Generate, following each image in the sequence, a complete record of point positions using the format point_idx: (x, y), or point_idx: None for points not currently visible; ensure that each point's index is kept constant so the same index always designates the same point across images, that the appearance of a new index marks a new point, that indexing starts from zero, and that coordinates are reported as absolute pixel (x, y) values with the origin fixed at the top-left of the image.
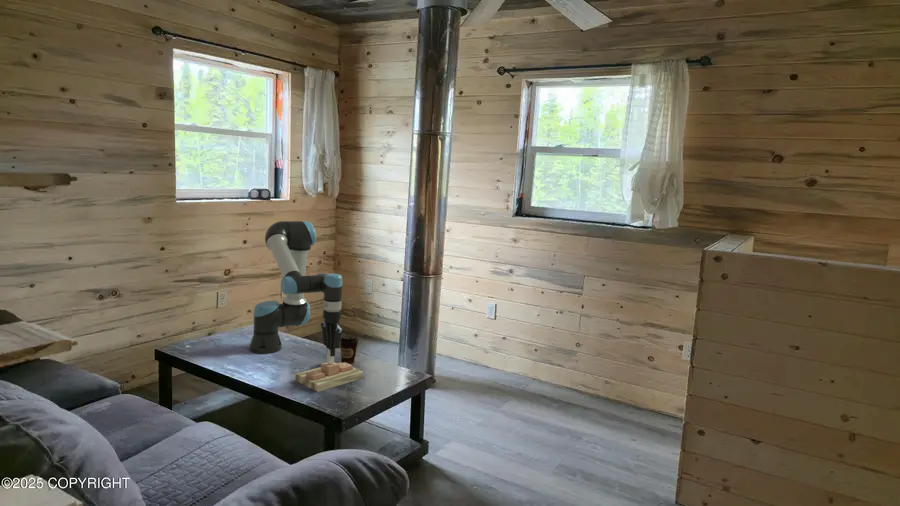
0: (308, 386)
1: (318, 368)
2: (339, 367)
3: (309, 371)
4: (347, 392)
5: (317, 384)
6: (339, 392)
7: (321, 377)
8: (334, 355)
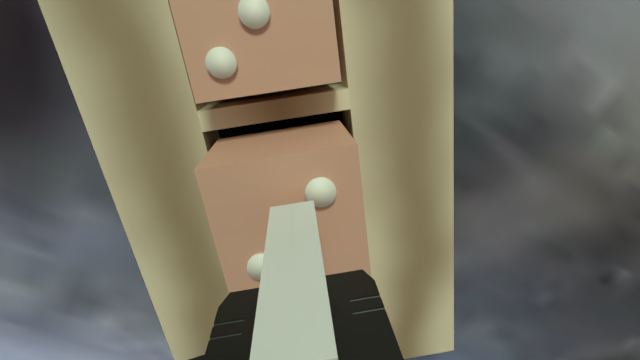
0: None
1: (141, 228)
2: (284, 89)
3: (182, 311)
4: (561, 173)
5: (445, 350)
6: (525, 216)
7: None
8: (367, 277)
